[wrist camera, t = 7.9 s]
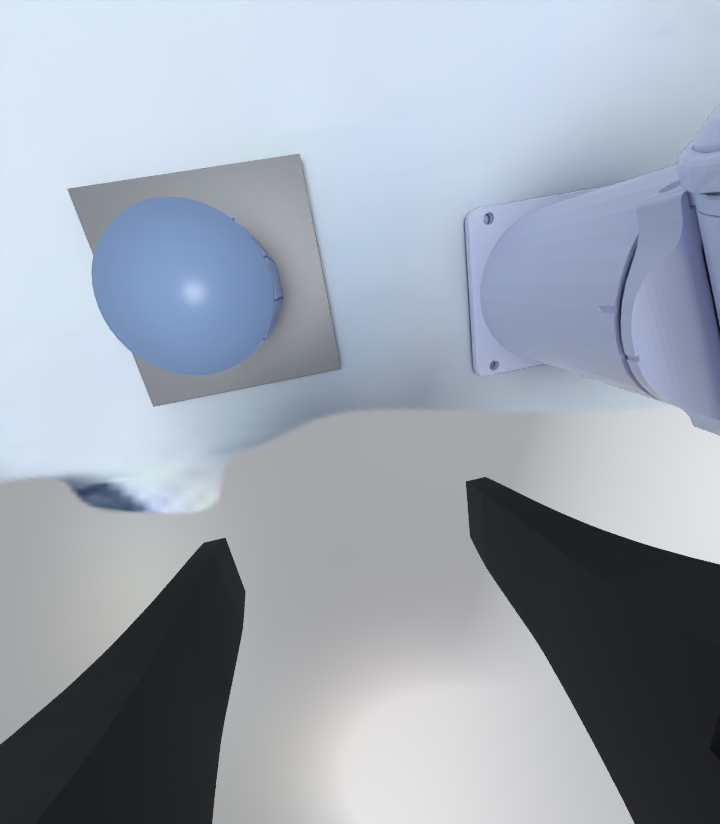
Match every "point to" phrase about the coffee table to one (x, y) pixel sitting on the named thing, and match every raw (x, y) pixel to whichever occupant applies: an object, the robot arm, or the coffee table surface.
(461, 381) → the coffee table surface
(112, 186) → the plate
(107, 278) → the cap
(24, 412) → the coffee table surface
